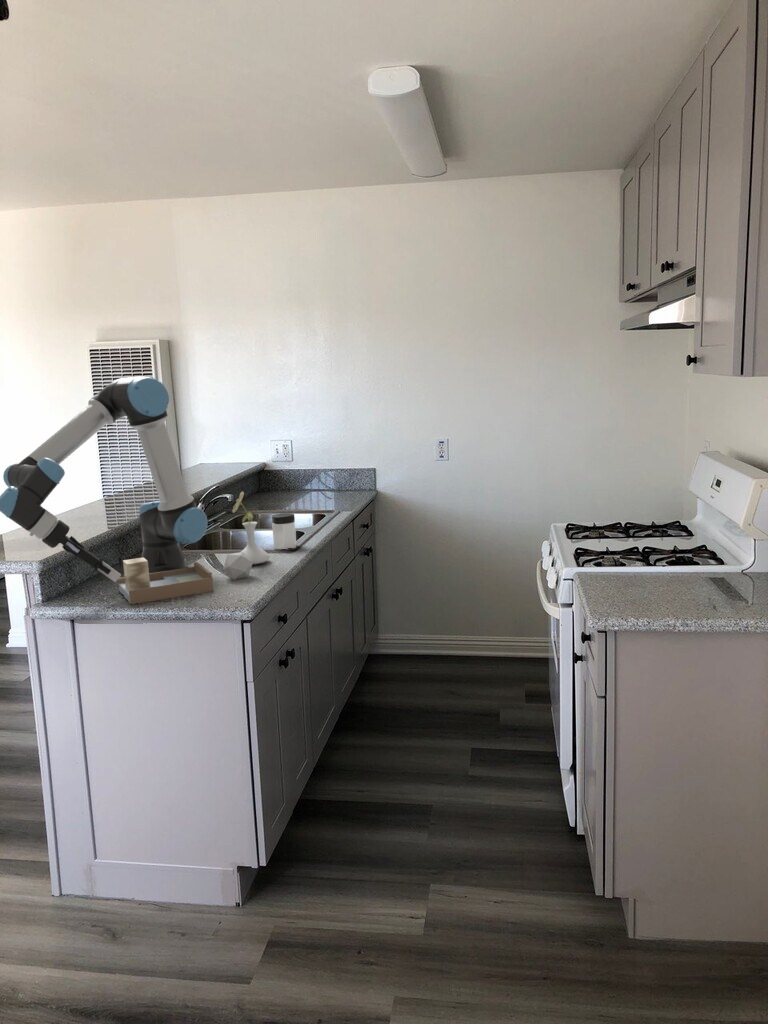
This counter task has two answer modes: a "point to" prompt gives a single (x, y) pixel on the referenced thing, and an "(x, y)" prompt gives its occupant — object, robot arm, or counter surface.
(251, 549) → the flower in vase
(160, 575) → the box
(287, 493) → the counter surface
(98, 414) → the robot arm
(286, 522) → the jar
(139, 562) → the block
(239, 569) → the die
